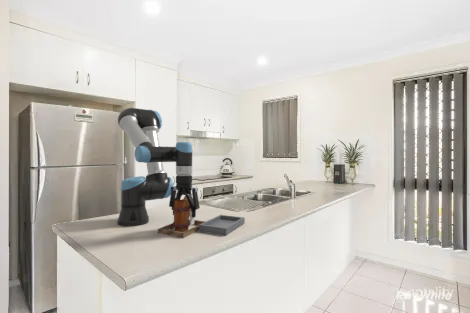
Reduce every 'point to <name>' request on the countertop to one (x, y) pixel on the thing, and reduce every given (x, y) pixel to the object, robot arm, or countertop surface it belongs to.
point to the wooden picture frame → (167, 231)
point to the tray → (222, 224)
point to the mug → (181, 215)
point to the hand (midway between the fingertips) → (184, 223)
